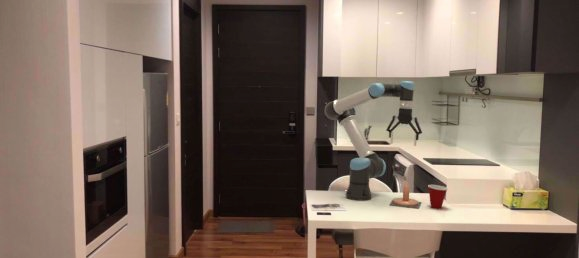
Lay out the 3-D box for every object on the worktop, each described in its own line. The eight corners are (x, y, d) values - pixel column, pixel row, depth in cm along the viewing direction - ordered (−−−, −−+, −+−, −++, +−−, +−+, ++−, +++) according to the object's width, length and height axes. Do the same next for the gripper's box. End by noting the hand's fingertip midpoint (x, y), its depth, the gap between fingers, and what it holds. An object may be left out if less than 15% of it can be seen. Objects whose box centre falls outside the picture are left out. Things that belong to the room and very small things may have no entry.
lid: (391, 204, 279) (392, 186, 278) (395, 199, 292) (396, 181, 292) (416, 207, 274) (417, 188, 274) (419, 202, 288) (420, 184, 287)
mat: (389, 205, 279) (389, 204, 279) (393, 199, 293) (393, 198, 293) (418, 208, 274) (418, 207, 274) (421, 203, 288) (421, 202, 288)
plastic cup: (447, 210, 272) (448, 189, 271) (427, 208, 275) (428, 187, 273) (445, 206, 283) (447, 185, 282) (426, 204, 285) (427, 183, 284)
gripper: (382, 106, 288) (380, 143, 290) (426, 109, 278) (424, 147, 280) (385, 106, 295) (383, 141, 297) (428, 109, 285) (426, 145, 287)
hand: (403, 144), depth 289 cm, fingers open, 13 cm apart
